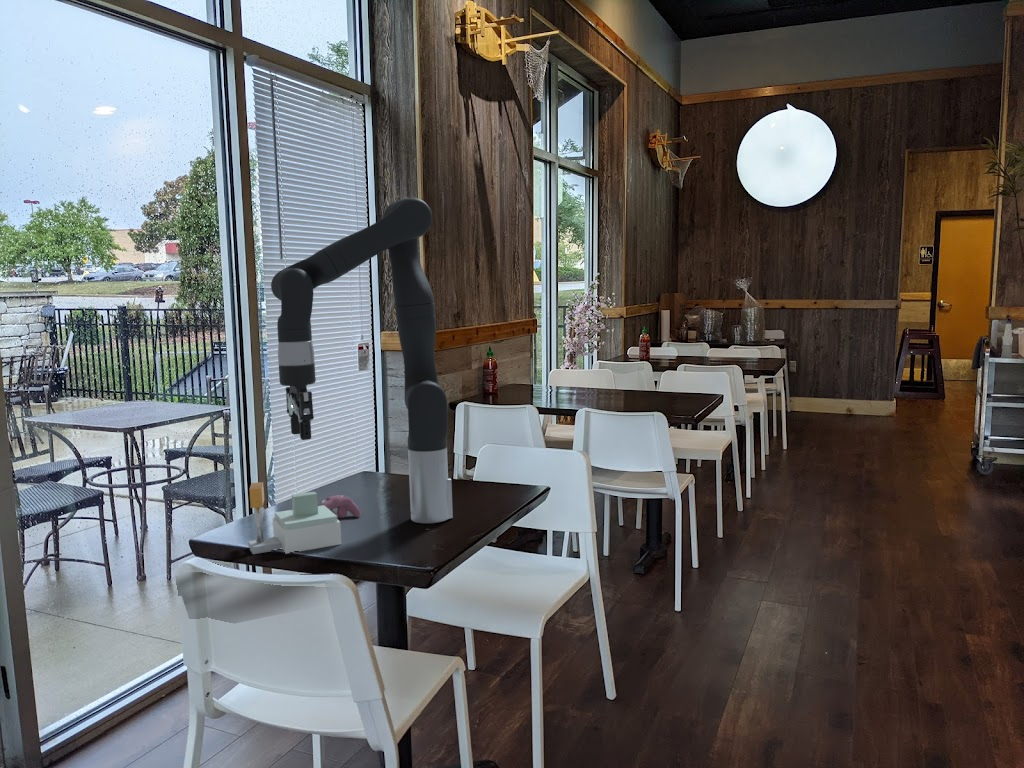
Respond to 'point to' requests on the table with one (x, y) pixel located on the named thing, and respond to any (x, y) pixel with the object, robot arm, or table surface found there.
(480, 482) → the table surface
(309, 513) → the cover
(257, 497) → the t key
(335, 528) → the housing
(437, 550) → the table surface
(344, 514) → the pink animal figurine
